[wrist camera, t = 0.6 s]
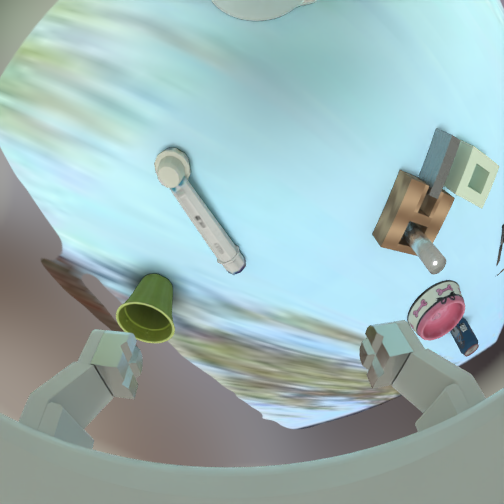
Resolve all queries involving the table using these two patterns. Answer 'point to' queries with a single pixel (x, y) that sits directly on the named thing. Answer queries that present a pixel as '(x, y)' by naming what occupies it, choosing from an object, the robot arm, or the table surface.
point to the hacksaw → (503, 240)
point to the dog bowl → (437, 310)
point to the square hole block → (471, 174)
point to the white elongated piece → (197, 208)
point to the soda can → (465, 337)
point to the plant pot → (149, 310)
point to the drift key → (439, 162)
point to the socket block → (410, 213)
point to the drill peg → (424, 248)
